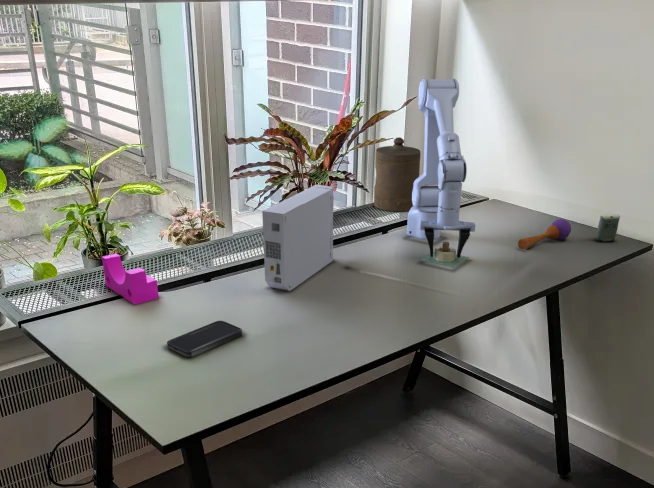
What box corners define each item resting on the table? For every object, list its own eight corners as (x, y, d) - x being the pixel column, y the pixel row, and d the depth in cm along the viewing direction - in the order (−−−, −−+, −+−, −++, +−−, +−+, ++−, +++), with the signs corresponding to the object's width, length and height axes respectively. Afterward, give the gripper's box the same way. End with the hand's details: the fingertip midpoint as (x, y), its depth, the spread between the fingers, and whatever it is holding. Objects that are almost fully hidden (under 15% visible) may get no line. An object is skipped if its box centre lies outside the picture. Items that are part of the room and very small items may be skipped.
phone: (244, 329, 157) (188, 353, 147) (244, 334, 157) (189, 358, 147) (219, 319, 161) (164, 341, 151) (220, 324, 162) (164, 346, 152)
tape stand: (419, 263, 198) (420, 244, 195) (436, 253, 205) (437, 234, 202) (452, 271, 193) (454, 251, 190) (468, 260, 200) (470, 241, 198)
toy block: (158, 298, 174) (155, 268, 171) (134, 304, 171) (130, 274, 167) (129, 279, 184) (125, 251, 180) (106, 285, 180) (101, 256, 177)
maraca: (513, 233, 209) (558, 216, 219) (515, 253, 211) (559, 235, 221) (530, 235, 204) (574, 217, 214) (531, 255, 207) (575, 237, 217)
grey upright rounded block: (606, 245, 214) (611, 218, 210) (591, 240, 217) (596, 214, 213) (617, 241, 217) (622, 214, 213) (602, 236, 220) (607, 210, 216)
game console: (335, 260, 199) (335, 187, 189) (286, 294, 177) (284, 214, 167) (316, 257, 201) (315, 184, 191) (265, 290, 179) (262, 210, 169)
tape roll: (430, 259, 198) (431, 250, 197) (440, 253, 202) (440, 244, 201) (449, 263, 195) (450, 254, 194) (458, 257, 199) (459, 248, 198)
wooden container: (394, 197, 255) (397, 131, 244) (426, 206, 246) (431, 138, 235) (364, 205, 246) (366, 137, 235) (397, 214, 237) (400, 144, 226)
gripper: (421, 210, 188) (418, 260, 195) (478, 211, 188) (473, 262, 194) (420, 202, 194) (417, 251, 201) (475, 204, 194) (470, 253, 201)
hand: (444, 256), depth 198 cm, fingers open, 7 cm apart
